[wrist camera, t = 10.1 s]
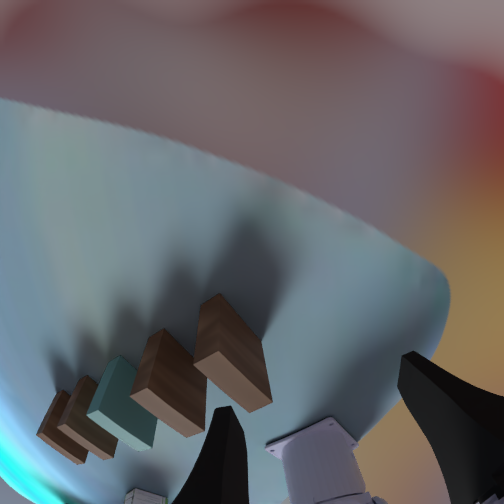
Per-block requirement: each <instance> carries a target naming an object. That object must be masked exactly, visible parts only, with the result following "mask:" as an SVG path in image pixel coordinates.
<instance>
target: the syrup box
mask: <svg viewBox="0 0 504 504" xmlns="http://www.w3.org/2000/svg"><path fill="white" fill-rule="evenodd" d="M124 504H168V498H166V497H163V496H159V495H156V494H153V493H149V492H146V491H143V490H140V489H137V488H134V489H133V490H132V491H130V492H129V493H127V494H126V496H125V500H124Z"/></svg>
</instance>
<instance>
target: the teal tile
mask: <svg viewBox="0 0 504 504" xmlns="http://www.w3.org/2000/svg"><path fill="white" fill-rule="evenodd" d="M136 374H137V370H136V369H135V368H134V367H133V366H131V365H130V364H129V363H128V362H127V361H126V360H125V359H124V358H123V357H122V356H121V355H120V356H118V357H116V358H115V359H113V360H112V361H110V362H109V363H108V365H107V367H106V369H105V372H104V374H103V376H102V378H101V381H100V383H99V385H98V388H97V390H96V392H95V395H94V397H93V399H92V402H91V404H90V407H89V409H88V411H87V414H86V416H88V417H89V418H90V419H92V420H93V421H94V422H96V423H97V424H98V425H100V426H101V427H102V428H104V429H105V430H106V431H108V432H109V433H111V434H112V435H114V436H115V437H117V438H118V439H119V440H121V441H122V442H124V443H126V444H127V445H129V446H130V447H132V448H133V449H135V450H137V451H138V452H140V451H143V450H147V449H151V448H152V447H153V441H154V435H155V430H156V424H157V419H158V418H157V417H156V416H154V415H153V414H152V413H150V412H149V411H148V410H146V409H145V408H144V407H142V406H141V405H140V404H138V403H137V402H136V401H135V400H133V399H132V398H131V397H130V393H131V389H132V386H133V383H134V380H135V377H136Z"/></svg>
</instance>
